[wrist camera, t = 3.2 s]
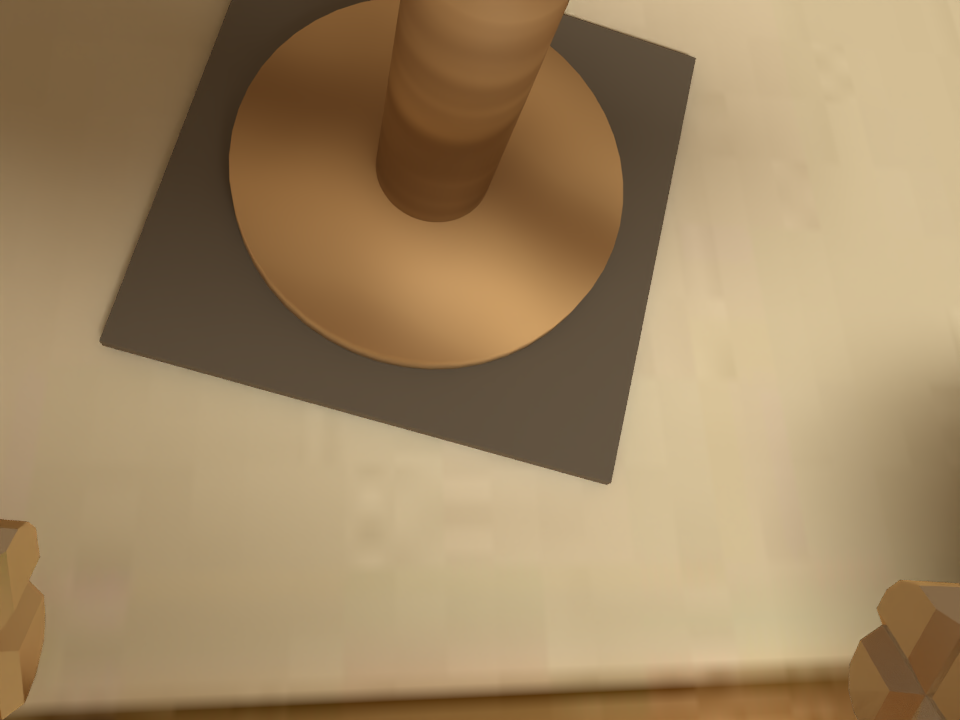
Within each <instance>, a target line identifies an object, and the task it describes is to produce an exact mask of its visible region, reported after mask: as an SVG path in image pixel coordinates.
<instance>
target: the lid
mask: <svg viewBox="0 0 960 720" xmlns="http://www.w3.org/2000/svg"><path fill="white" fill-rule="evenodd" d="M568 2H569V0H371V1H366V2H361V3H358V4H355V5H351V6H348V7H345V8H342V9H339V10H336V11H334V12H332V13H330V14H328V15H326V16H324V17H322V18H320V19H317V20H315V21H314V22H312V23H311V24H309V25H308V26H306V27H304V28H303V29H301V30H300V31H298V32H297V33H295V34H294V35H293V36H292V37H291V38H289V39H288V40H287V41H286V42H285V43H284V44H282V45H281V46H280V47H279V48H278V49H277V50H276V51H275V52H274V53H273V54H272V55H271V57H270V58H269V59H268V60H267V61H266V62H265V63H264V65H263V66H262V67H261V68H260V70H259V72H258V73H257V75H256V76H255V78H254V79H253V81H252V82H251V84H250V85H249V87H248V89H247V91H246V94H245V96H244V98H243V100H242V102H241V105H240V107H239V109H238V113H237V116H236V120H235V123H234V127H233V130H232V136H231V144H230V152H229V181H230V187H231V193H232V198H233V204H234V210H235V215H236V220H237V223H238V227H239V230H240V233H241V236H242V239H243V242H244V245H245V247H246V249H247V251H248V253H249V255H250V257H251V260H252V262H253V264H254V266H255V268H256V269H257V271H258V272H259V274H260V275H261V277H262V278H263V280H264V281H265V283H266V284H267V286H268V287H269V289H270V290H271V291H272V292H273V293H274V294H275V296H276V297H277V298H278V299H279V300H280V301H281V302H282V304H283V305H284V306H285V307H286V308H287V309H288V310H289V311H290V312H291V313H293V314H294V315H295V316H296V317H297V318H298V319H299V320H301V321H302V322H303V323H304V324H305V325H306V326H308V327H309V328H311V329H312V330H314V331H315V332H317V333H318V334H320V335H321V336H323V337H324V338H325V339H327V340H328V341H330V342H332V343H334V344H336V345H338V346H340V347H342V348H344V349H346V350H348V351H350V352H352V353H355V354H358V355H360V356H363V357H366V358H369V359H372V360H375V361H377V362H382V363H386V364H391V365H395V366H400V367H405V368H417V369H428V370H435V369H457V368H463V367H469V366H475V365H481V364H484V363H488V362H491V361H494V360H497V359H500V358H504V357H506V356H509V355H511V354H513V353H515V352H517V351H519V350H521V349H524V348H526V347H528V346H529V345H531V344H532V343H534V342H536V341H537V340H539V339H540V338H542V337H543V336H545V335H546V334H548V333H549V332H550V331H551V330H553V329H554V328H555V327H556V326H557V325H558V324H560V323H561V322H562V321H563V320H564V319H565V318H566V317H567V316H568V315H569V314H570V313H571V312H572V311H573V310H574V308H575V307H576V306H577V305H578V304H579V303H580V302H581V300H582V299H583V298H584V297H585V296H586V295H587V294H588V292H589V291H590V290H591V289H592V287H593V286H594V284H595V283H596V281H597V279H598V278H599V276H600V275H601V273H602V272H603V270H604V268H605V266H606V264H607V261H608V259H609V257H610V255H611V253H612V250H613V248H614V245H615V241H616V238H617V234H618V231H619V227H620V221H621V214H622V207H623V177H622V169H621V162H620V156H619V153H618V149H617V145H616V141H615V138H614V135H613V132H612V130H611V127H610V125H609V123H608V120H607V118H606V115H605V113H604V111H603V110H602V108H601V106H600V104H599V103H598V101H597V99H596V97H595V96H594V94H593V92H592V91H591V90H590V88H589V87H588V86H587V84H586V83H585V82H584V80H583V79H582V77H581V76H580V75H579V74H578V73H577V72H576V70H575V69H574V68H573V67H572V66H571V65H570V64H569V63H568V62H567V61H566V60H565V59H564V58H563V57H562V56H561V55H560V54H559V53H558V52H557V51H555V50H554V49H553V48H552V47H551V46H550V44H551V42H552V39H553V37H554V35H555V33H556V30H557V28H558V26H559V23H560V21H561V19H562V16H563V14H564V12H565V9H566V7H567V5H568Z"/></svg>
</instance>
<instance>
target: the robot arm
mask: <svg viewBox="0 0 960 720" xmlns="http://www.w3.org/2000/svg"><path fill="white" fill-rule="evenodd" d="M39 558H40V553H39V546H38V539H37V532H36V528H35V527H34V526H33V525H32V524H30V523H29V522H27V521H16V520H4V519H0V720H3V719H4V718H6V717H7V716H8V715H10V714H11V713H12V712H14V711H15V710H16V709H18V708H19V707H20V706H22V705H23V704H24V703H25V701H26V698H27V696H28V693H29V691H30V688H31V686H32V683H33V681H34V678H35V676H36V672H37V668H38V664H39V660H40V655H41V651H42V647H43V642H44V630H45V605H44V595H43V594H42V593H41V592H40V591H39V590H38V589H37V588H36V587H35V586H34V585H33V584H32V583H31V582H30V581H29V579H30V577H31V575H32V573H33V571H34V569H35V567H36V564H37V562H38V560H39ZM877 611H878V613H879V616H880V619H881V622H882V625H881V626H880V627H878V628H877V629H876V630H874V631H873V632H871V633H870V634H868V635H867V636H865V637H864V638H863V639H861V640H860V642H859V644H858V646H857V649H856V651H855V653H854V655H853V658H852V660H851V662H850V664H849V694H850V698H851V702H852V706H853V710H854V713H855V715H856V717H857V719H858V720H960V583H947V582H930V581H913V580H899V581H898V582H896V583H895V584H894V585H892V586H891V587H889V588H888V589H887V590H886V592H885V594H884V596H883V597H882V599H881V601H880V603H879V605H878V607H877Z"/></svg>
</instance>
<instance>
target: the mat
mask: <svg viewBox="0 0 960 720" xmlns="http://www.w3.org/2000/svg"><path fill="white" fill-rule="evenodd" d="M366 1H371V0H232V1H231V3H230V6H229V8H228V11H227V14H226V16H225V19H224V21H223V24H222V27H221V29H220V32H219V34H218V37H217V39H216V42H215V45H214V47H213V50H212V52H211V55H210V57H209V60H208V63H207V65H206V68H205V70H204V73H203V75H202V78H201V81H200V83H199V86H198V88H197V91H196V94H195V96H194V99H193V101H192V104H191V106H190V109H189V112H188V114H187V117H186V119H185V122H184V124H183V127H182V130H181V132H180V135H179V137H178V140H177V143H176V145H175V148H174V150H173V153H172V155H171V158H170V161H169V163H168V166H167V168H166V171H165V173H164V176H163V179H162V181H161V184H160V186H159V189H158V191H157V194H156V197H155V199H154V202H153V204H152V207H151V210H150V212H149V215H148V217H147V220H146V222H145V225H144V228H143V230H142V233H141V235H140V238H139V240H138V243H137V246H136V248H135V251H134V253H133V256H132V259H131V261H130V264H129V266H128V269H127V271H126V274H125V277H124V279H123V282H122V284H121V287H120V289H119V292H118V295H117V297H116V300H115V302H114V305H113V307H112V310H111V313H110V315H109V318H108V320H107V323H106V326H105V328H104V331H103V333H102V336H101V338H100V342H101V344H102V345H104V346H107V347H111V348H114V349H118V350H122V351H125V352H129V353H132V354H136V355H140V356H143V357H147V358H151V359H154V360H158V361H161V362H165V363H169V364H172V365H176V366H179V367H183V368H187V369H190V370H194V371H197V372H201V373H205V374H208V375H212V376H216V377H219V378H223V379H226V380H230V381H234V382H237V383H241V384H244V385H248V386H252V387H255V388H259V389H263V390H266V391H270V392H273V393H277V394H281V395H284V396H288V397H291V398H295V399H299V400H302V401H306V402H309V403H313V404H317V405H320V406H324V407H328V408H331V409H335V410H338V411H342V412H346V413H349V414H353V415H356V416H360V417H364V418H367V419H371V420H375V421H378V422H382V423H385V424H389V425H393V426H396V427H400V428H403V429H407V430H411V431H414V432H418V433H421V434H425V435H429V436H432V437H436V438H440V439H443V440H447V441H450V442H454V443H458V444H461V445H465V446H468V447H472V448H476V449H479V450H483V451H487V452H490V453H494V454H497V455H501V456H505V457H508V458H512V459H515V460H519V461H523V462H526V463H530V464H533V465H537V466H541V467H544V468H548V469H552V470H555V471H559V472H562V473H566V474H570V475H573V476H577V477H580V478H584V479H588V480H591V481H595V482H599V483H602V484H606V485H607V484H609V483H611V480H612V475H613V470H614V465H615V460H616V455H617V450H618V445H619V440H620V435H621V430H622V425H623V420H624V415H625V410H626V405H627V400H628V395H629V390H630V385H631V380H632V375H633V370H634V365H635V360H636V355H637V350H638V345H639V340H640V335H641V330H642V325H643V320H644V315H645V310H646V305H647V300H648V295H649V290H650V285H651V280H652V275H653V270H654V265H655V260H656V255H657V250H658V245H659V240H660V235H661V230H662V225H663V220H664V215H665V210H666V204H667V199H668V194H669V189H670V184H671V179H672V174H673V169H674V164H675V159H676V154H677V149H678V144H679V139H680V134H681V129H682V124H683V119H684V114H685V109H686V104H687V99H688V94H689V89H690V84H691V79H692V74H693V69H694V64H695V59H696V58H694V57H691V56H688V55H685V54H682V53H679V52H676V51H673V50H670V49H667V48H664V47H661V46H658V45H655V44H652V43H649V42H646V41H643V40H640V39H637V38H634V37H631V36H628V35H625V34H622V33H619V32H616V31H613V30H610V29H607V28H604V27H601V26H598V25H595V24H592V23H589V22H586V21H583V20H580V19H577V18H574V17H571V16H568V15H565V14H563V16H562V19H561V21H560V23H559V26H558V28H557V30H556V33H555V35H554V37H553V39H552V42H551V44H550V46H551V47H552V48H553V49H554V50H555V51H557V52H558V53H559V54H560V55H561V56H562V57H563V58H564V59H565V60H566V61H567V62H568V63H569V64H570V65H571V66H572V67H573V68H574V69H575V70H576V72H577V73H578V74H579V75H580V76H581V77H582V79H583V80H584V82H585V83H586V84H587V86H588V87H589V88H590V90H591V91H592V92H593V94H594V96H595V97H596V99H597V101H598V103H599V104H600V106H601V108H602V110H603V111H604V113H605V115H606V118H607V120H608V123H609V125H610V127H611V130H612V132H613V135H614V138H615V141H616V145H617V149H618V153H619V156H620V162H621V169H622V177H623V207H622V214H621V221H620V227H619V231H618V234H617V238H616V241H615V245H614V248H613V250H612V253H611V255H610V257H609V259H608V261H607V264H606V266H605V268H604V270H603V272H602V273H601V275H600V276H599V278H598V279H597V281H596V283H595V284H594V286H593V287H592V289H591V290H590V291H589V292H588V294H587V295H586V296H585V297H584V298H583V299H582V300H581V302H580V303H579V304H578V305H577V306H576V307H575V308H574V310H573V311H572V312H571V313H570V314H569V315H568V316H567V317H566V318H565V319H564V320H563V321H562V322H561V323H560V324H558V325H557V326H556V327H555V328H554V329H553V330H551V331H550V332H549V333H548V334H546V335H545V336H543V337H542V338H540V339H539V340H537V341H536V342H534V343H532V344H531V345H529V346H528V347H526V348H524V349H521V350H519V351H517V352H515V353H513V354H511V355H509V356H506V357H504V358H500V359H497V360H494V361H491V362H488V363H484V364H481V365H475V366H469V367H463V368H457V369H435V370H428V369H417V368H405V367H400V366H395V365H391V364H386V363H382V362H377V361H375V360H372V359H369V358H366V357H363V356H360V355H358V354H355V353H352V352H350V351H348V350H346V349H344V348H342V347H340V346H338V345H336V344H334V343H332V342H330V341H328V340H327V339H325V338H324V337H323V336H321V335H320V334H318V333H317V332H315V331H314V330H312V329H311V328H309V327H308V326H306V325H305V324H304V323H303V322H302V321H301V320H299V319H298V318H297V317H296V316H295V315H294V314H293V313H291V312H290V311H289V310H288V309H287V308H286V307H285V306H284V305H283V304H282V302H281V301H280V300H279V299H278V298H277V297H276V296H275V294H274V293H273V292H272V291H271V290H270V289H269V287H268V286H267V284H266V283H265V281H264V280H263V278H262V277H261V275H260V274H259V272H258V271H257V269H256V268H255V266H254V264H253V262H252V260H251V257H250V255H249V253H248V251H247V249H246V247H245V245H244V242H243V239H242V236H241V233H240V230H239V227H238V223H237V220H236V215H235V210H234V204H233V198H232V193H231V187H230V181H229V152H230V144H231V136H232V130H233V127H234V123H235V120H236V116H237V113H238V109H239V107H240V105H241V102H242V100H243V98H244V96H245V94H246V91H247V89H248V87H249V85H250V84H251V82H252V81H253V79H254V78H255V76H256V75H257V73H258V72H259V70H260V68H261V67H262V66H263V65H264V63H265V62H266V61H267V60H268V59H269V58H270V57H271V55H272V54H273V53H274V52H275V51H276V50H277V49H278V48H279V47H280V46H281V45H282V44H284V43H285V42H286V41H287V40H288V39H289V38H291V37H292V36H293V35H294V34H295V33H297V32H298V31H300V30H301V29H303V28H304V27H306V26H308V25H309V24H311V23H312V22H314V21H315V20H317V19H320V18H322V17H324V16H326V15H328V14H330V13H332V12H334V11H336V10H339V9H342V8H345V7H348V6H351V5H355V4H358V3H361V2H366Z"/></svg>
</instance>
